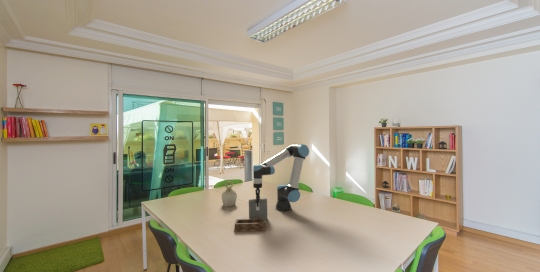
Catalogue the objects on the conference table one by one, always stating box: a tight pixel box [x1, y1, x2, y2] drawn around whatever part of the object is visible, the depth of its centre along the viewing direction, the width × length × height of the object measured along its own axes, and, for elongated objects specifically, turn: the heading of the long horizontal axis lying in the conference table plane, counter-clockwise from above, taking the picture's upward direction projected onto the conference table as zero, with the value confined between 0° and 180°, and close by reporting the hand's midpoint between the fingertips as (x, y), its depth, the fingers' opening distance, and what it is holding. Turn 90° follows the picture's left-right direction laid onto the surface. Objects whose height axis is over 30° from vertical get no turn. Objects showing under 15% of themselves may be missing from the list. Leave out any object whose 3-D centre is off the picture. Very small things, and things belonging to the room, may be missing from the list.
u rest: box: [233, 218, 267, 233], centre depth 182 cm, size 24×12×6 cm, turn 92°
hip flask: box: [248, 196, 268, 221], centre depth 199 cm, size 16×4×20 cm, turn 101°
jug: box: [221, 180, 238, 208], centre depth 241 cm, size 15×16×25 cm
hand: (257, 207), depth 199 cm, fingers open, 13 cm apart
